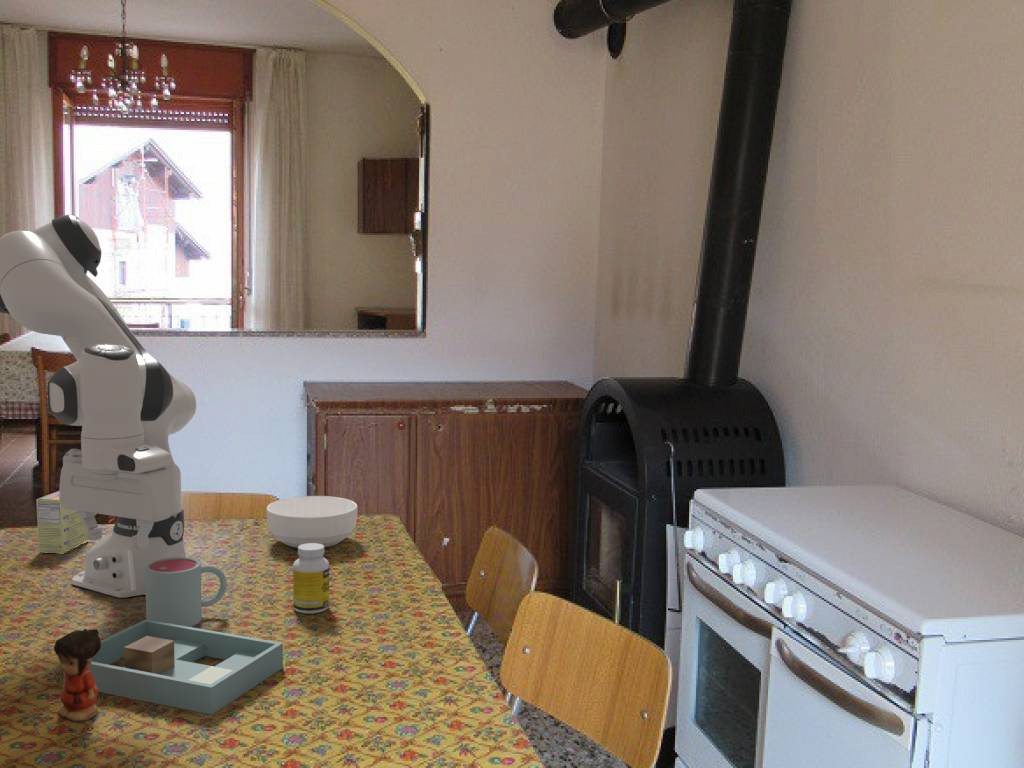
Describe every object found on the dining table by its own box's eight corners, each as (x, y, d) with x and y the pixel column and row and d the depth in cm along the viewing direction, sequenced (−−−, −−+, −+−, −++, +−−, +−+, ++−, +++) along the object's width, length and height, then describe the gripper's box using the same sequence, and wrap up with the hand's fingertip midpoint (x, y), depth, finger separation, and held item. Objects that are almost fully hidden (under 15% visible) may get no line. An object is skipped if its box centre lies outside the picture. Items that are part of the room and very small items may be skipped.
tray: (64, 684, 153) (63, 658, 153) (146, 642, 170) (145, 619, 170) (211, 714, 145) (211, 687, 144) (283, 667, 161) (282, 643, 161)
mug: (150, 633, 174) (149, 575, 173) (142, 615, 183) (141, 560, 181) (233, 621, 181) (232, 566, 180) (221, 605, 189) (221, 551, 188)
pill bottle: (321, 616, 184) (321, 553, 183) (287, 613, 186) (286, 550, 184) (334, 604, 191) (334, 543, 189) (301, 601, 192) (301, 540, 190)
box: (65, 540, 228) (63, 487, 226) (89, 542, 227) (87, 489, 226) (37, 553, 218) (35, 498, 216) (62, 555, 217) (60, 500, 215)
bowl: (349, 557, 220) (349, 518, 219) (256, 555, 220) (256, 516, 219) (363, 532, 240) (363, 496, 239) (278, 530, 240) (278, 494, 239)
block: (124, 673, 153) (123, 647, 153) (147, 661, 158) (146, 635, 157) (152, 678, 151) (151, 652, 151) (174, 666, 156) (174, 640, 156)
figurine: (65, 703, 147) (62, 622, 146) (105, 703, 148) (103, 622, 146) (49, 723, 141) (46, 639, 139) (91, 723, 141) (89, 638, 140)
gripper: (46, 450, 157) (50, 539, 159) (148, 463, 148) (151, 557, 150) (80, 444, 163) (83, 530, 164) (180, 455, 154) (182, 546, 156)
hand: (117, 543), depth 157 cm, fingers open, 8 cm apart
